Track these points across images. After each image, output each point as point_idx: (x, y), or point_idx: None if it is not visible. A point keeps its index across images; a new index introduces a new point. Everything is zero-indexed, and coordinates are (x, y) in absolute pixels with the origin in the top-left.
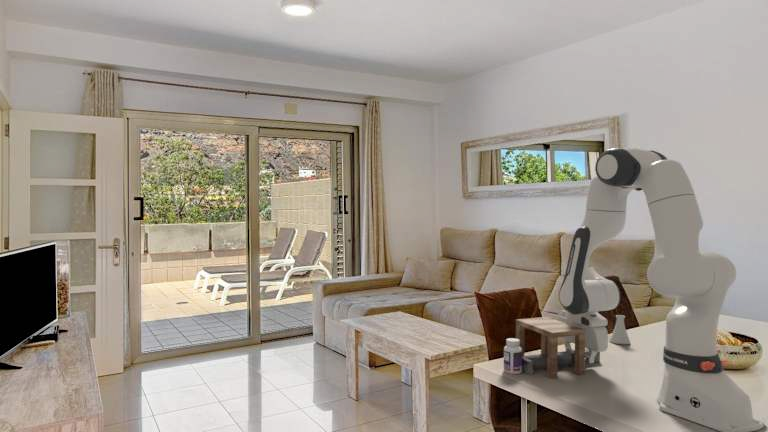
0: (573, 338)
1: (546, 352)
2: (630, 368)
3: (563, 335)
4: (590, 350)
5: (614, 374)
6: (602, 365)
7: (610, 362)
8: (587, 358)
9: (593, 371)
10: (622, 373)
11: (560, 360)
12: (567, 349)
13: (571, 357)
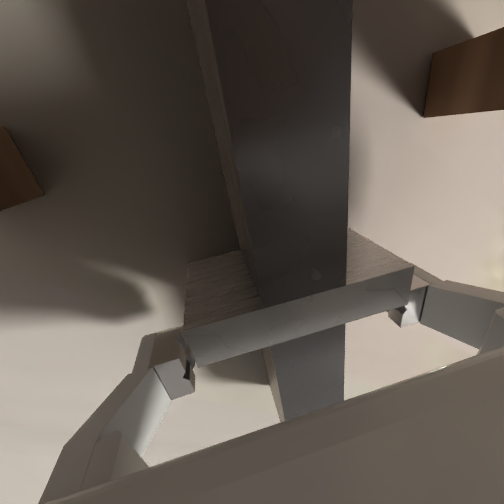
0: (468, 481)
1: (498, 56)
2: (160, 463)
3: None
4: (78, 478)
5: (34, 395)
6: (215, 383)
7: (255, 419)
8: (164, 351)
9: (86, 306)
10: (67, 429)
11: (204, 54)
12: (392, 271)
13: (242, 231)
